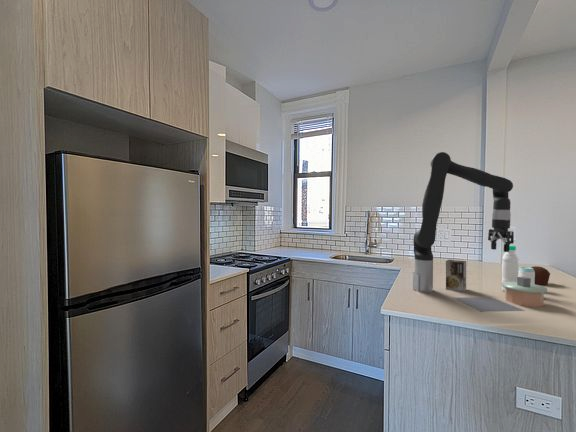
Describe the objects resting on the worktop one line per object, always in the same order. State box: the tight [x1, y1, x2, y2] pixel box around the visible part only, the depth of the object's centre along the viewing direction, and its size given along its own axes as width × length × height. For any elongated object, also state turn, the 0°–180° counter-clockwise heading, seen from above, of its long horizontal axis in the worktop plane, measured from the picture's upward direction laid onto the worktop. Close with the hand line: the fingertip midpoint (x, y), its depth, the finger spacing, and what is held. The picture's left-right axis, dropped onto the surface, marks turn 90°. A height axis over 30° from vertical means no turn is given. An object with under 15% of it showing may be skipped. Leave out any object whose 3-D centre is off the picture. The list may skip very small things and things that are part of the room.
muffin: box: [530, 266, 551, 286], centre depth 178 cm, size 12×11×10 cm
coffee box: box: [445, 259, 467, 292], centre depth 164 cm, size 9×6×16 cm
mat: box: [453, 296, 526, 312], centre depth 138 cm, size 20×20×1 cm
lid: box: [501, 276, 548, 294], centre depth 141 cm, size 17×17×5 cm
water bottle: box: [501, 244, 519, 292], centre depth 160 cm, size 7×7×25 cm
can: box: [518, 266, 535, 284], centre depth 165 cm, size 7×7×12 cm
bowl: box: [504, 288, 545, 308], centre depth 141 cm, size 14×14×7 cm
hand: (499, 250), depth 150 cm, fingers open, 8 cm apart
